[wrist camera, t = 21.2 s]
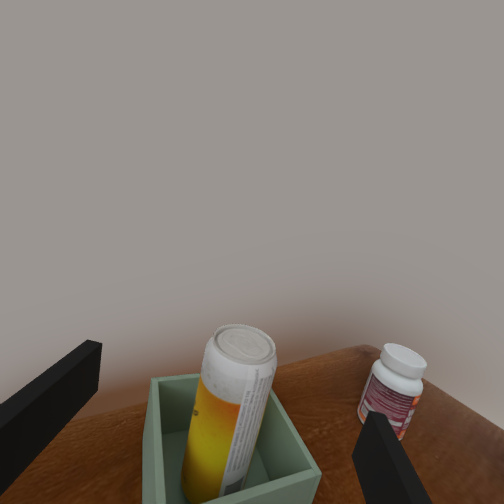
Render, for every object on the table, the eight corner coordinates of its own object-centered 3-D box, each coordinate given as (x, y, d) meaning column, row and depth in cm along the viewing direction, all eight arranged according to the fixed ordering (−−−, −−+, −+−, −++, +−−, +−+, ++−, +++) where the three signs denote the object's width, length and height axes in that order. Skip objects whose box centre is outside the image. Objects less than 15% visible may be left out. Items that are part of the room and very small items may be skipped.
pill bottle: (407, 452, 32) (440, 377, 30) (357, 430, 34) (384, 357, 31) (396, 416, 38) (423, 351, 36) (354, 399, 40) (377, 335, 37)
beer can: (219, 437, 28) (247, 316, 25) (256, 488, 24) (295, 351, 21) (167, 470, 24) (193, 329, 21) (201, 539, 20) (240, 377, 17)
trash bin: (141, 615, 16) (157, 529, 14) (142, 437, 27) (151, 377, 25) (298, 542, 21) (322, 473, 20) (246, 418, 32) (259, 367, 30)
